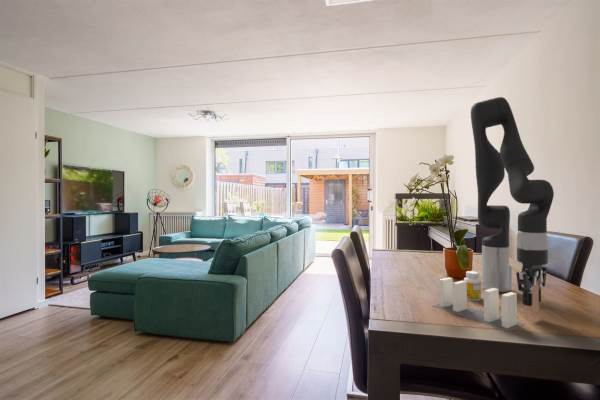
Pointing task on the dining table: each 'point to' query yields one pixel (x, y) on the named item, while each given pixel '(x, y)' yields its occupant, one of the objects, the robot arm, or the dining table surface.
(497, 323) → the mat
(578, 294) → the dining table surface
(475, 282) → the supplement bottle
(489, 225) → the robot arm
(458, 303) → the domino
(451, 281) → the domino
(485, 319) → the domino
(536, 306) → the domino
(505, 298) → the domino
